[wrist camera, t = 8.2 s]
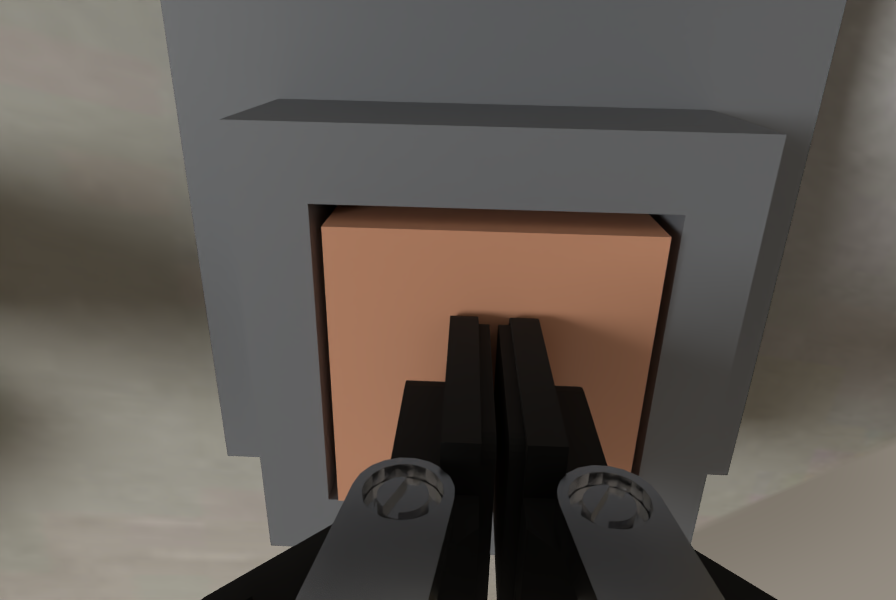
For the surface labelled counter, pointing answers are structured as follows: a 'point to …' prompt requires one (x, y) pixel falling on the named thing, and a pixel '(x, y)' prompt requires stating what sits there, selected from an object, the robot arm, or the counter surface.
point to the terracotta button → (486, 309)
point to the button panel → (491, 184)
